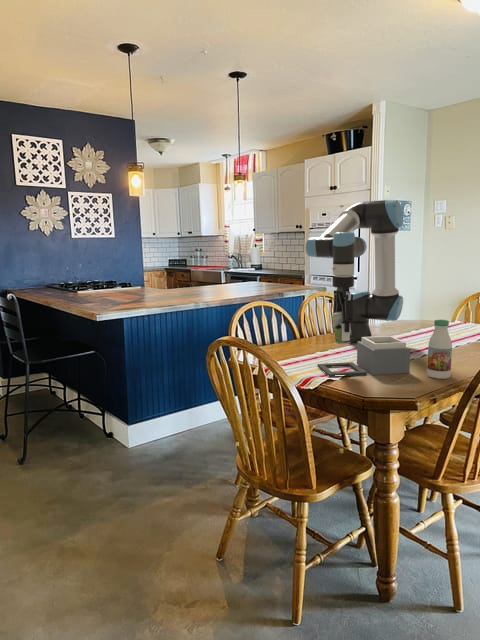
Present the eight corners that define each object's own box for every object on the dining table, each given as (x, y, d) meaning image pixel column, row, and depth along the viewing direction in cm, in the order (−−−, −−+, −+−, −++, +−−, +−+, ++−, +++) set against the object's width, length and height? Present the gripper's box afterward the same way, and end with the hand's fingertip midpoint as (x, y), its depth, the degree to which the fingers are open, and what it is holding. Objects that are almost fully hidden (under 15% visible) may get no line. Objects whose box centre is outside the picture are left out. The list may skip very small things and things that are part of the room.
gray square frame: (317, 366, 181) (317, 363, 181) (352, 364, 183) (352, 362, 182) (328, 376, 167) (328, 374, 167) (366, 374, 169) (366, 372, 169)
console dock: (356, 364, 183) (357, 336, 181) (390, 362, 185) (392, 334, 183) (372, 375, 169) (373, 345, 167) (409, 373, 170) (410, 343, 169)
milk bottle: (422, 373, 170) (425, 318, 166) (443, 372, 170) (446, 318, 167) (433, 379, 162) (436, 322, 159) (454, 379, 163) (458, 322, 159)
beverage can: (352, 346, 170) (353, 313, 167) (331, 345, 171) (332, 313, 169) (352, 342, 176) (352, 310, 173) (332, 341, 177) (332, 310, 175)
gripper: (324, 273, 178) (324, 333, 182) (342, 278, 159) (341, 345, 163) (343, 273, 179) (342, 332, 183) (363, 278, 160) (362, 344, 164)
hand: (342, 338), depth 173 cm, fingers closed on beverage can, 7 cm apart
